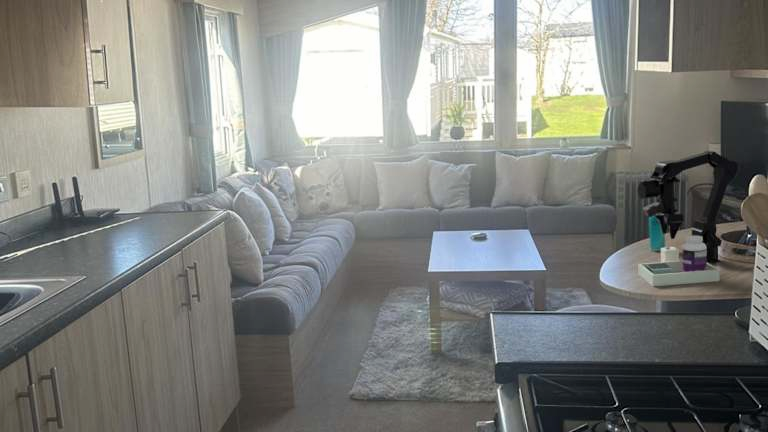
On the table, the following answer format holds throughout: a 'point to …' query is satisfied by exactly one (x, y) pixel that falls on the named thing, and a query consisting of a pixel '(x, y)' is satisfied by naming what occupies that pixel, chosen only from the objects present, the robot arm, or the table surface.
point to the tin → (659, 268)
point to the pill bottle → (694, 254)
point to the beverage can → (656, 235)
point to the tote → (678, 275)
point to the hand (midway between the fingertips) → (668, 236)
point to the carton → (669, 254)
